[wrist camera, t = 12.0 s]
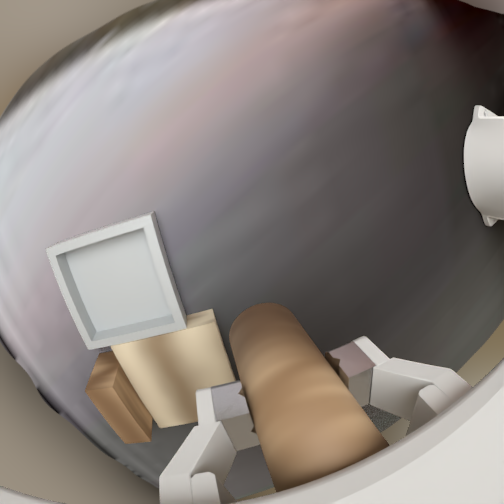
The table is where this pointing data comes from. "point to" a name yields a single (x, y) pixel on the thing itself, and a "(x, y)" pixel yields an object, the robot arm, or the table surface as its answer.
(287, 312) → the dowel
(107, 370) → the wooden block
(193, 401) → the board
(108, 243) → the tray
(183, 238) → the table surface
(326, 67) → the table surface
